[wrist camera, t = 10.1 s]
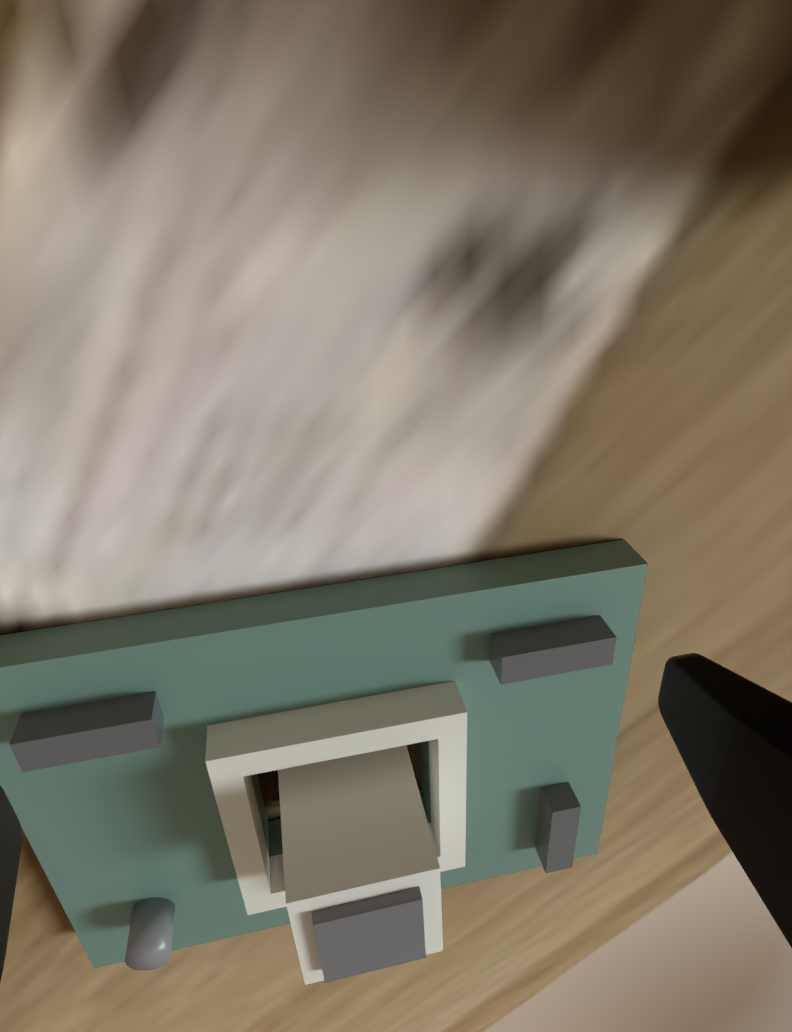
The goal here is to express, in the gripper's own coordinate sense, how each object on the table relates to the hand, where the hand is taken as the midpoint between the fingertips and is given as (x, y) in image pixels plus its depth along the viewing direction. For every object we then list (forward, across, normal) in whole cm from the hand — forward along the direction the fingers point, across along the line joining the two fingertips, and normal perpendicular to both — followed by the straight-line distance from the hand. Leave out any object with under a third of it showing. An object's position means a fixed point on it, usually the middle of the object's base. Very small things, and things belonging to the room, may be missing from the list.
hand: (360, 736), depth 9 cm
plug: (+12, 0, +14) cm, 18 cm away
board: (+12, 0, +14) cm, 18 cm away
